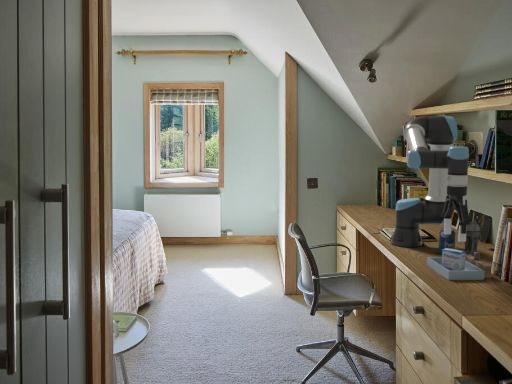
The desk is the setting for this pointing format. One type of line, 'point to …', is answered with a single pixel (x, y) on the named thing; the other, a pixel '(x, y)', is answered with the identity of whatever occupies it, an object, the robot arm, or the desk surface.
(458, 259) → the medicine box
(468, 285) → the desk surface
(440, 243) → the soda can
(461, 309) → the desk surface
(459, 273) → the tray
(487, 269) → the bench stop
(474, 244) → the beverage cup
